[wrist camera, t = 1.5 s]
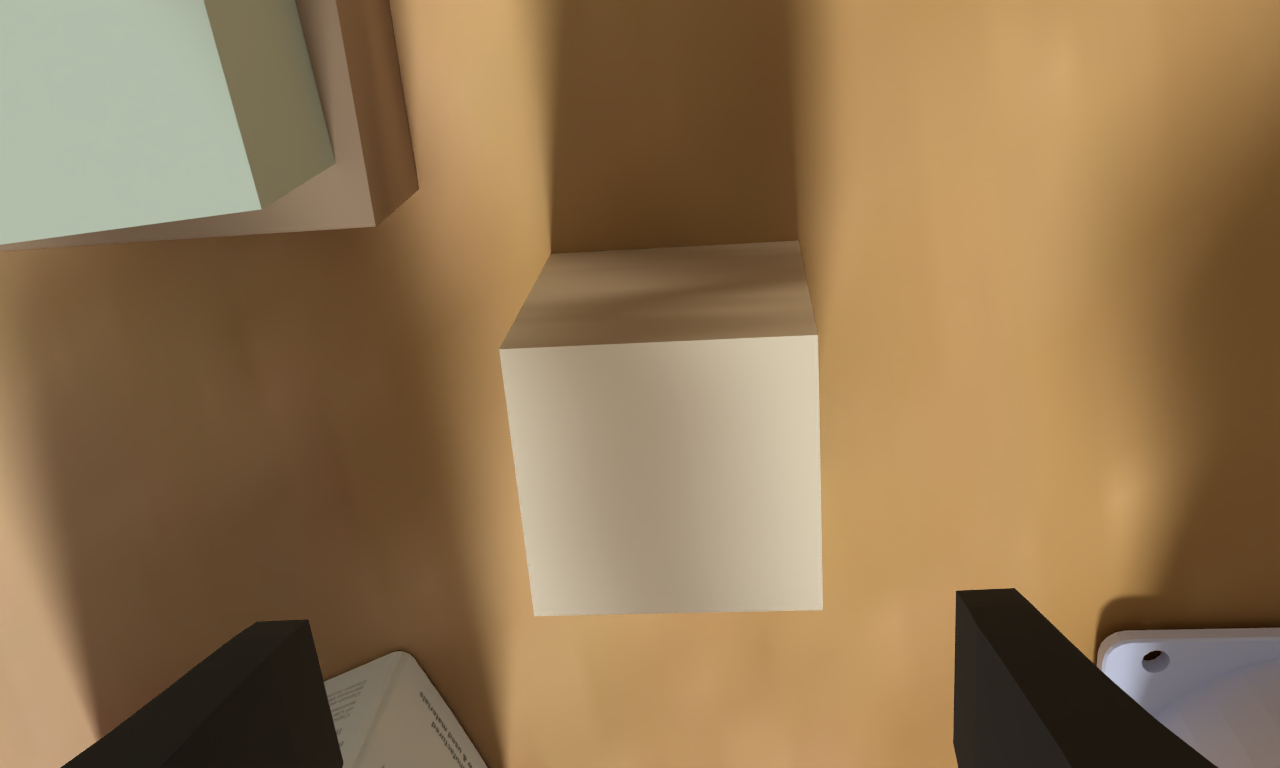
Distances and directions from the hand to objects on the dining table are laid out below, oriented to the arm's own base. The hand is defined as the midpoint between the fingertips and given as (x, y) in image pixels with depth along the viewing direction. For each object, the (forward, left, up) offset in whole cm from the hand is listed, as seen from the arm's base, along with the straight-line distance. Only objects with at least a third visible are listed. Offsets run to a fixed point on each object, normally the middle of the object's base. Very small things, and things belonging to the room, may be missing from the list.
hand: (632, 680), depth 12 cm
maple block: (0, 0, -10) cm, 10 cm away
